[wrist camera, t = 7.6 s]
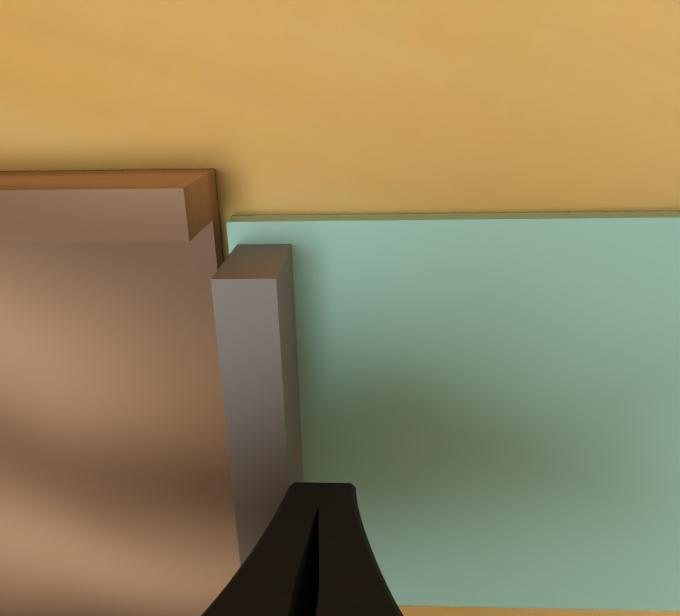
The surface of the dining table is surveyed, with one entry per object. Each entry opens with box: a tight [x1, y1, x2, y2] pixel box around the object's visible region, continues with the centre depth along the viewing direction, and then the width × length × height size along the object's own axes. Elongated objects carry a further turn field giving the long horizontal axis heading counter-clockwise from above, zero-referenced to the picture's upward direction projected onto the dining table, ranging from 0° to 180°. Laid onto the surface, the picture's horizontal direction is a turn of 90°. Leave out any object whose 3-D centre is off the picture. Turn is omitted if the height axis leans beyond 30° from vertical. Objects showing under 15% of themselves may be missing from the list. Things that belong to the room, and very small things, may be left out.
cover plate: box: [211, 211, 680, 611], centre depth 14 cm, size 11×13×4 cm
